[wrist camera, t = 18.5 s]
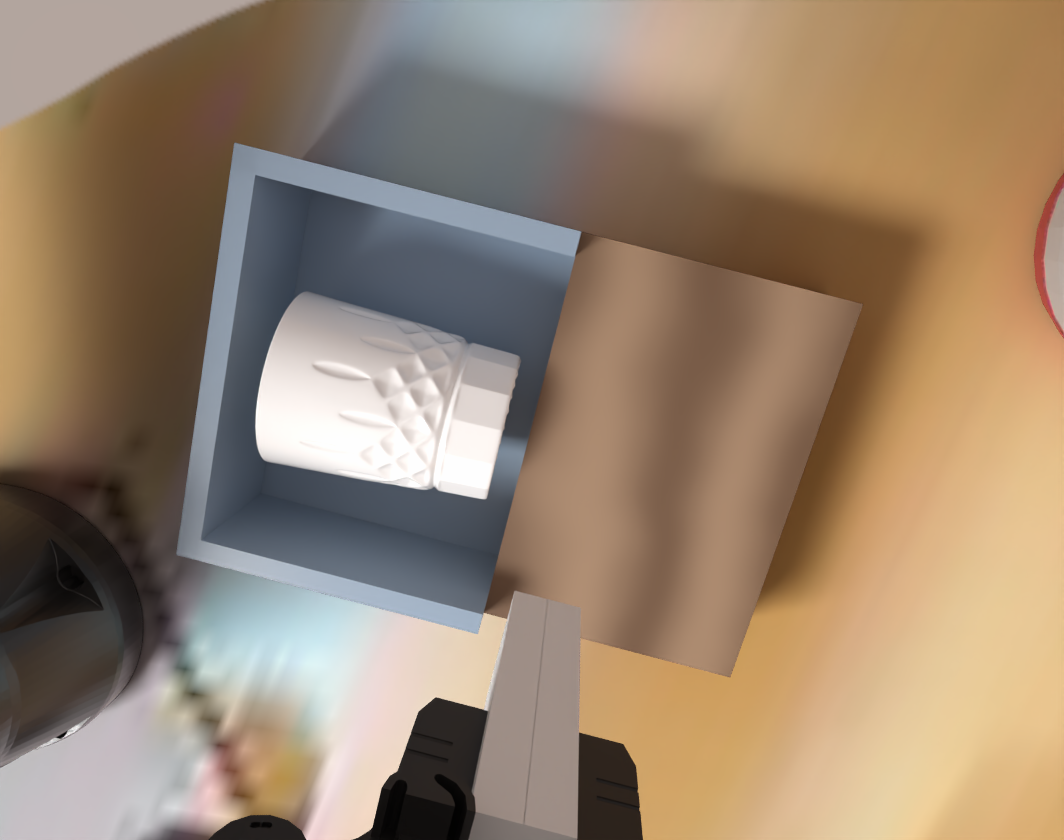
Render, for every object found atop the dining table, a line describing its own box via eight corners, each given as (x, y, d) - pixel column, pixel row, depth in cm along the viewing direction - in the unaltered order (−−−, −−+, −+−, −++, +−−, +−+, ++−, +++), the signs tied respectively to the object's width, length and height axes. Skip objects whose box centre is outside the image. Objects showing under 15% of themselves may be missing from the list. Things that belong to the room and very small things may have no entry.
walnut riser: (496, 567, 41) (483, 612, 36) (582, 232, 36) (581, 231, 31) (713, 624, 40) (730, 677, 36) (826, 295, 36) (863, 303, 31)
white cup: (527, 332, 37) (329, 284, 37) (521, 359, 30) (271, 299, 29) (492, 479, 39) (303, 435, 39) (478, 540, 32) (243, 486, 31)
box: (244, 502, 41) (176, 554, 34) (300, 160, 36) (234, 142, 30) (496, 567, 41) (477, 634, 34) (582, 232, 36) (581, 231, 29)
